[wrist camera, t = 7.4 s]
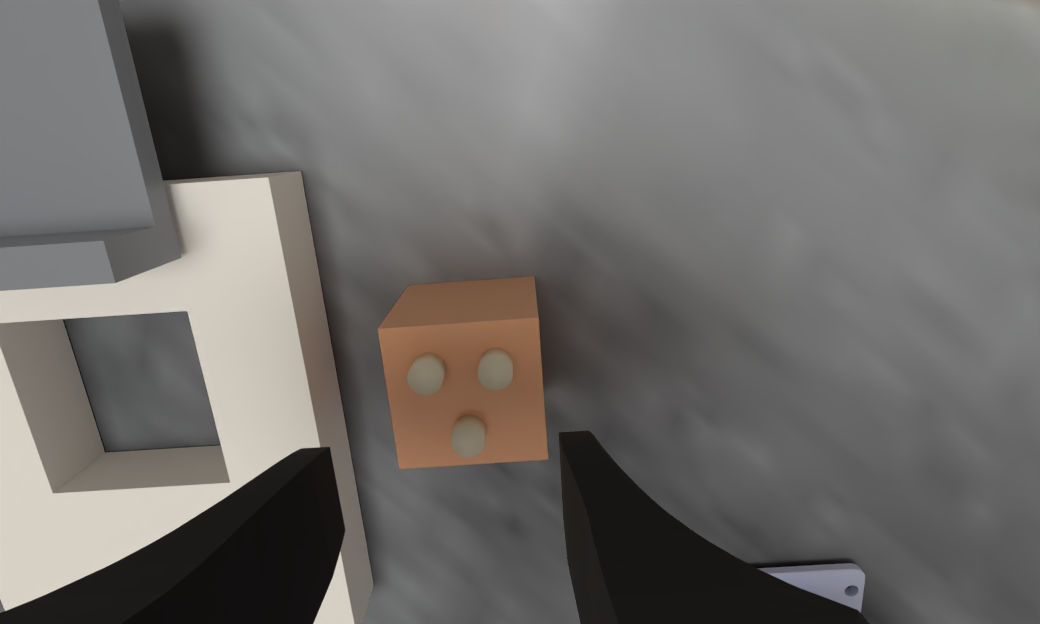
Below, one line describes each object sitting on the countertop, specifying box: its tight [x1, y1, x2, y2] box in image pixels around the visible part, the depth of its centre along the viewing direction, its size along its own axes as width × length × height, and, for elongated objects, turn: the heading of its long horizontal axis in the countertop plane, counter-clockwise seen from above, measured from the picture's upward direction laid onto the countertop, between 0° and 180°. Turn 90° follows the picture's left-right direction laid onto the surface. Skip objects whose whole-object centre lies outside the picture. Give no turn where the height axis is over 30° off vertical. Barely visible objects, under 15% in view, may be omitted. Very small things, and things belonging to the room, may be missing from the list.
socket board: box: [0, 171, 374, 624], centre depth 20 cm, size 16×12×2 cm
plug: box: [378, 276, 548, 469], centre depth 18 cm, size 4×4×5 cm
